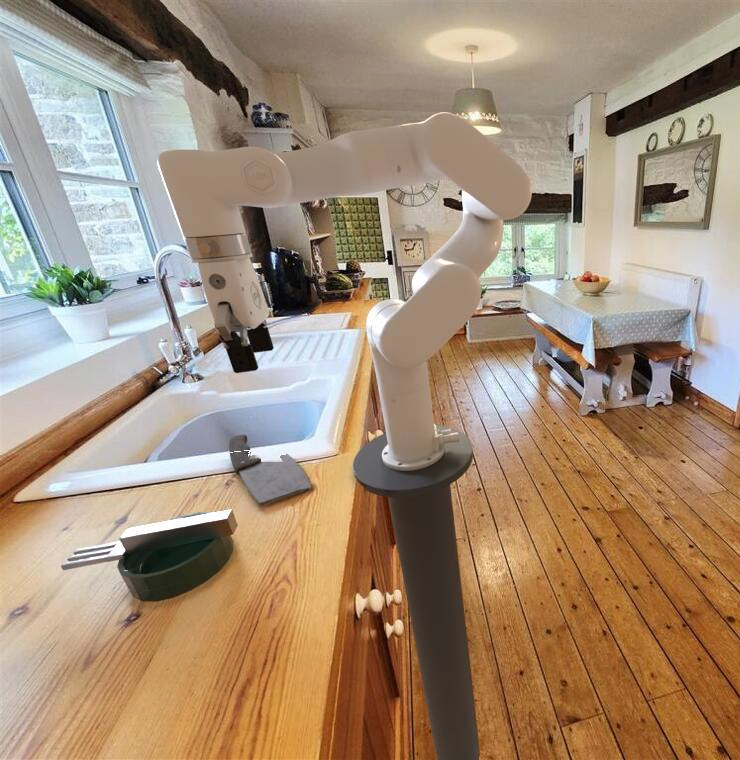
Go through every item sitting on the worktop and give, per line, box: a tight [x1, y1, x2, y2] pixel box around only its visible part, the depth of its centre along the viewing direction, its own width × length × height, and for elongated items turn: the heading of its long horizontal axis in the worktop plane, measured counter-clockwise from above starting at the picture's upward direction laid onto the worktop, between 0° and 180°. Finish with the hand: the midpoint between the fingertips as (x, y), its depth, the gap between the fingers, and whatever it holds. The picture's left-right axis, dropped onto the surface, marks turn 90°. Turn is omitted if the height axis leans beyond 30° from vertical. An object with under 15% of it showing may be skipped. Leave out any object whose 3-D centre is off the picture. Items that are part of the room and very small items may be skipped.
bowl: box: [116, 511, 235, 603], centre depth 59 cm, size 12×12×5 cm
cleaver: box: [228, 434, 312, 507], centre depth 83 cm, size 29×10×2 cm, turn 45°
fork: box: [60, 509, 238, 571], centre depth 57 cm, size 20×3×3 cm, turn 105°
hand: (255, 360), depth 65 cm, fingers open, 9 cm apart
